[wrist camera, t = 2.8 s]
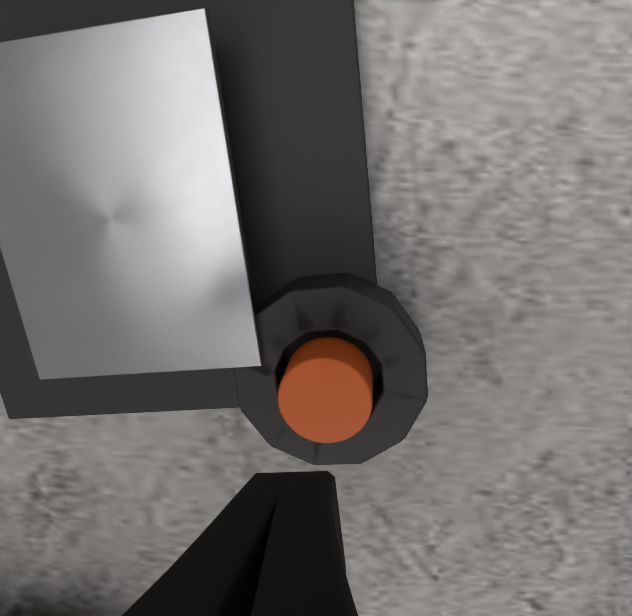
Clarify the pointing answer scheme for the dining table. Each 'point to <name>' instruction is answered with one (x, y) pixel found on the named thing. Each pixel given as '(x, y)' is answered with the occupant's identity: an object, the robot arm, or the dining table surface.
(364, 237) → the scale
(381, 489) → the dining table surface
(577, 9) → the dining table surface
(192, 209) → the scale platform
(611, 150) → the dining table surface
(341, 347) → the button
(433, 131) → the dining table surface
